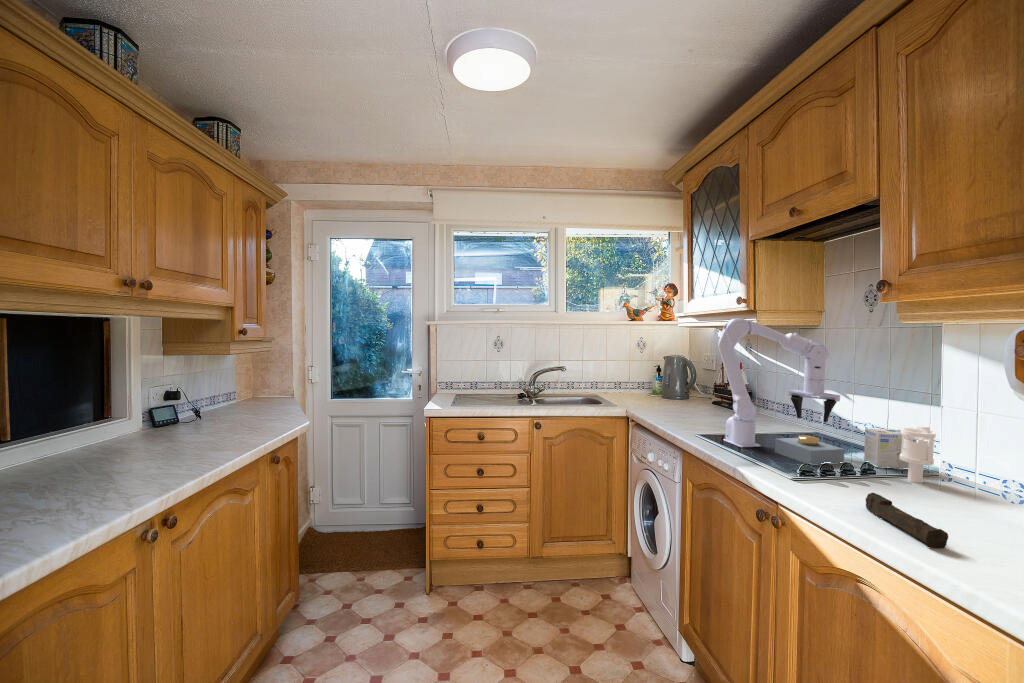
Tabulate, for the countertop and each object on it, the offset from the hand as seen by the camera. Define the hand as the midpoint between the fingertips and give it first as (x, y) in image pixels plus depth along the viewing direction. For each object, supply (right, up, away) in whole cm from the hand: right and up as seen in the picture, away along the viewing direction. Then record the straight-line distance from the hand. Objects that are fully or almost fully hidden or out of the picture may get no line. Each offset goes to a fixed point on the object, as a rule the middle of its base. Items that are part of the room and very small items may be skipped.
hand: (812, 419), depth 154 cm
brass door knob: (-7, -10, -8) cm, 15 cm away
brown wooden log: (-19, -13, -57) cm, 61 cm away
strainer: (+10, -12, -28) cm, 32 cm away
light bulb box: (+13, -12, -15) cm, 23 cm away
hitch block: (-7, -11, -8) cm, 15 cm away
